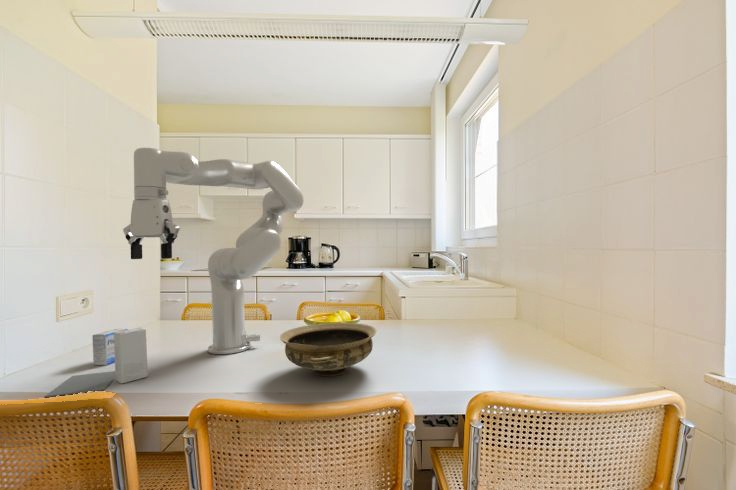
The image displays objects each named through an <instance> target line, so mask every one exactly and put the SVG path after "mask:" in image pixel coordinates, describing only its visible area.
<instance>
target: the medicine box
mask: <svg viewBox="0 0 736 490" xmlns="http://www.w3.org/2000/svg"><path fill="white" fill-rule="evenodd" d="M124 330H129V329H127V328H114V329H111V330H107V331H103V332H99V333H95V334H92V337H91V339H92V354H93V355H92V360H93V365H94V366H109V365H112V364H115V352H114V332H118V331H124Z"/></svg>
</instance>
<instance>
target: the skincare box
mask: <svg viewBox="0 0 736 490" xmlns="http://www.w3.org/2000/svg"><path fill="white" fill-rule="evenodd" d="M147 348H148V347H147V329H145V328H142V327H138V328H131V329H128V330H124V331H118V332H114V352H115V363H114V371H115V373H116V379H115V381H116V382H118V383H120V384H126V383H129V382H133V381H137V380H141V379H144V378H147V377H149V375H148V371H149V370H148V349H147Z"/></svg>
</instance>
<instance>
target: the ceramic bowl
mask: <svg viewBox="0 0 736 490" xmlns="http://www.w3.org/2000/svg"><path fill="white" fill-rule="evenodd" d="M376 333H377V329H376V328H375V327H374V326H372V325H368V324H364V323H358V322H357V323H356V322H327V323H325V322H324V323H318V324H316V323H315V324H310V325H304V326H303V325H302V326H298V327H295V328H291V329H288V330H286V331H284V332H282V333H281V334H280V336H279V339H280V340H281V342H282V343H284V344H285V347H284V351H285V357H286V358H287V359H288V361H290V362H291V363H292V364H294V365H295V366H297V367H301V368H303V369H308V370H314V374H316V375H317V376H320V377H334V376H340V375H342V374H344V373H346V372H347V371H348V369H347V368H349V367H352V366H354V365H357V364H359V363H361V362H362V361H364V360H366V359H367V358H368V356H369V355H370V354H371V353H372V351H373V346H374V344H373V339H372V338H373V337H374V336H376Z"/></svg>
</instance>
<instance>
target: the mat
mask: <svg viewBox="0 0 736 490" xmlns="http://www.w3.org/2000/svg"><path fill="white" fill-rule="evenodd" d="M114 380H115V381H116V373H115V370H112V371H105V372H94V373H86V374H76V375H71V376H70V377H69V378H67V379H66V380H65V381H63V382H61V384H59V385H58V386H57V387H55V388H54V389H53V390H51V391H50V392H48V393H47V394H45V395H44V398H45V397H49V398H52V397H51V396H57V395H65V396H67V395H66V394H74V393H80V392H88V391H98V392H101V391H100V390H104V391H105V390H106V389H107V388H108V387H109V386H110V385H111V384H112V383H113V382H114ZM74 395H75V394H74ZM57 397H58V396H57Z"/></svg>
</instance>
